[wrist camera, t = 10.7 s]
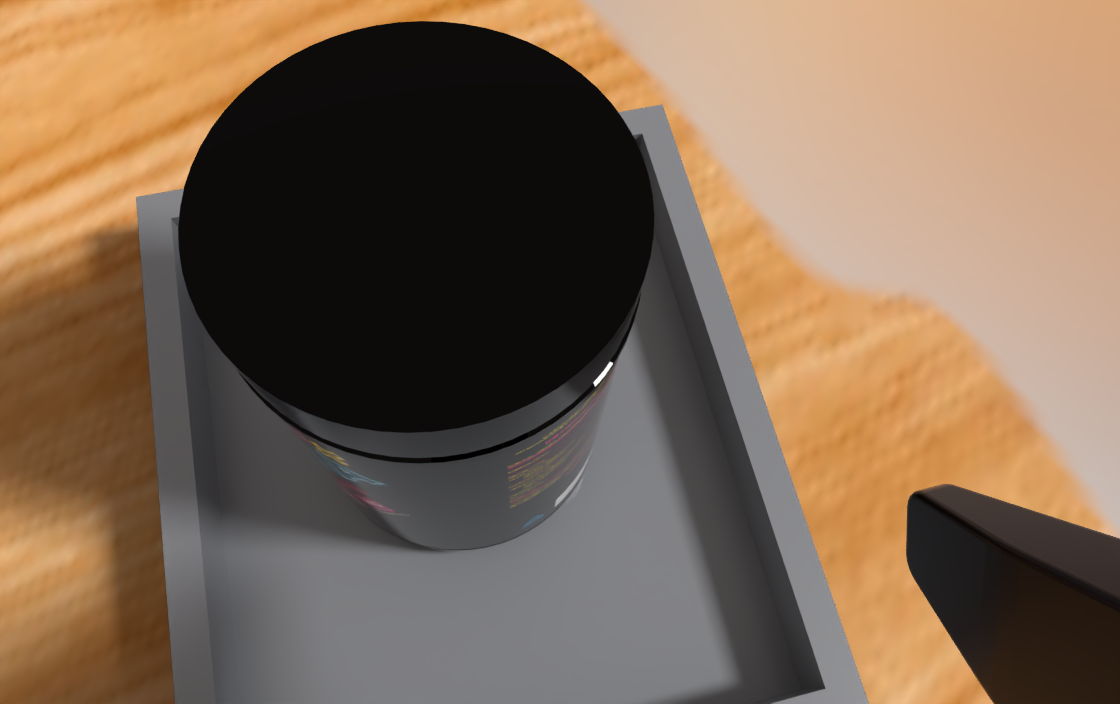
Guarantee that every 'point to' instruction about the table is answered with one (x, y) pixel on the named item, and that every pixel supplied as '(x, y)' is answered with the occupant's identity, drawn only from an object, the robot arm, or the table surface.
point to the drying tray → (512, 567)
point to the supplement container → (425, 268)
